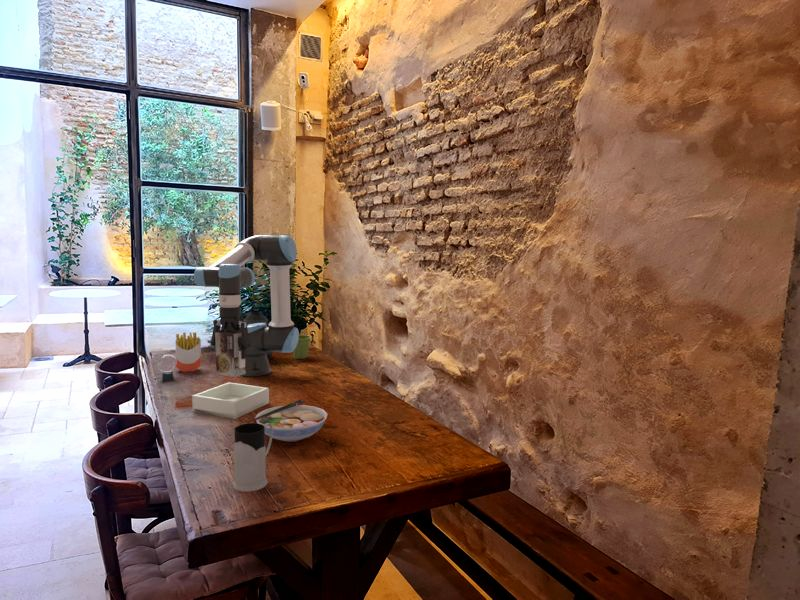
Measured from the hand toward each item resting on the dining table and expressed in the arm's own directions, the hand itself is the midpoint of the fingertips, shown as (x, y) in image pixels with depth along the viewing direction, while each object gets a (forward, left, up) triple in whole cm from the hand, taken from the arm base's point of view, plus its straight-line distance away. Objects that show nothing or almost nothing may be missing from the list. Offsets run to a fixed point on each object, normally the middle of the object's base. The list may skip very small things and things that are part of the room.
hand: (231, 366), depth 199 cm
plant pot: (-23, +83, -16) cm, 88 cm away
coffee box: (0, 0, -3) cm, 3 cm away
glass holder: (+45, -46, -16) cm, 67 cm away
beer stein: (-44, +71, -16) cm, 85 cm away
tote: (0, 0, -16) cm, 16 cm away
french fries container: (-55, +36, -16) cm, 67 cm away
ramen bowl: (+37, -17, -16) cm, 44 cm away
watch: (-52, +20, -16) cm, 58 cm away
